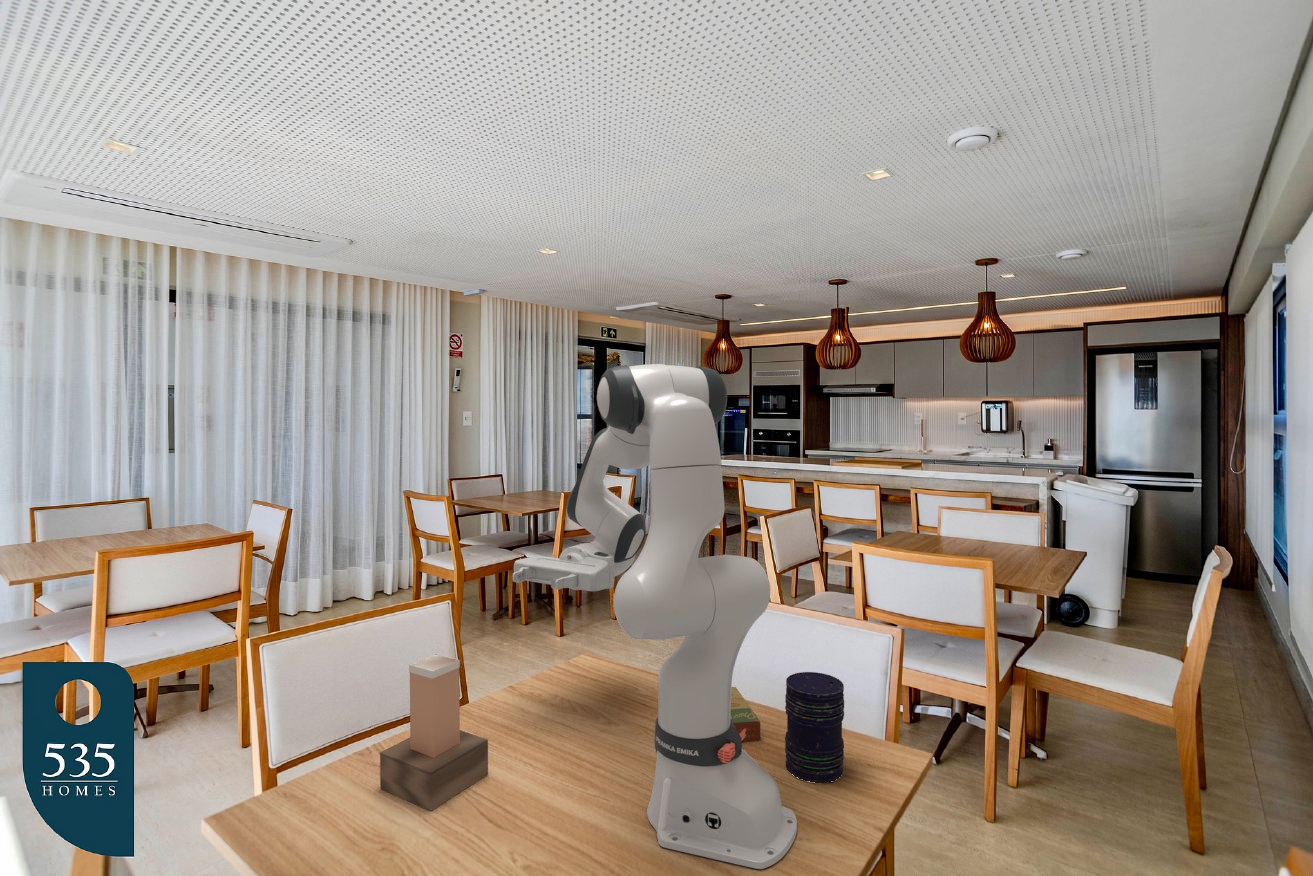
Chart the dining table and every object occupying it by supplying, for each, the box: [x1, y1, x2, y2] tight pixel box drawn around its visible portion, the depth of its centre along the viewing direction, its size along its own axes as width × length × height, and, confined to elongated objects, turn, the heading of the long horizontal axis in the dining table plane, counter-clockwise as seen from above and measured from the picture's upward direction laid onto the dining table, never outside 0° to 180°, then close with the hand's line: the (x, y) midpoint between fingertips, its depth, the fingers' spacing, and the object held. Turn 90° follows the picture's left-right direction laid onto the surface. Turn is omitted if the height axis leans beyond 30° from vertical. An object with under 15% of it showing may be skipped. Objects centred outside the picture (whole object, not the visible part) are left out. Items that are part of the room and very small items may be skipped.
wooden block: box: [379, 729, 489, 812], centre depth 108 cm, size 12×12×6 cm
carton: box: [730, 686, 761, 742], centre depth 129 cm, size 8×16×4 cm, turn 10°
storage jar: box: [784, 671, 845, 783], centre depth 112 cm, size 10×10×15 cm
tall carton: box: [408, 653, 461, 758], centre depth 108 cm, size 6×6×14 cm
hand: (534, 581), depth 121 cm, fingers open, 8 cm apart
